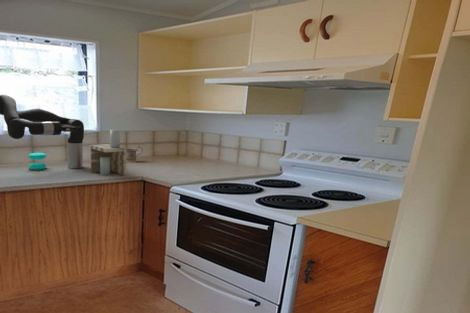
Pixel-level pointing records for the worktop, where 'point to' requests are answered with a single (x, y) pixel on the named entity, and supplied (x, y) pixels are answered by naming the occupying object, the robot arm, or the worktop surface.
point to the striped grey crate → (115, 156)
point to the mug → (131, 155)
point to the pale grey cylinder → (115, 138)
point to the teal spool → (37, 157)
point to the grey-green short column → (104, 165)
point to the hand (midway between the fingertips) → (79, 128)
